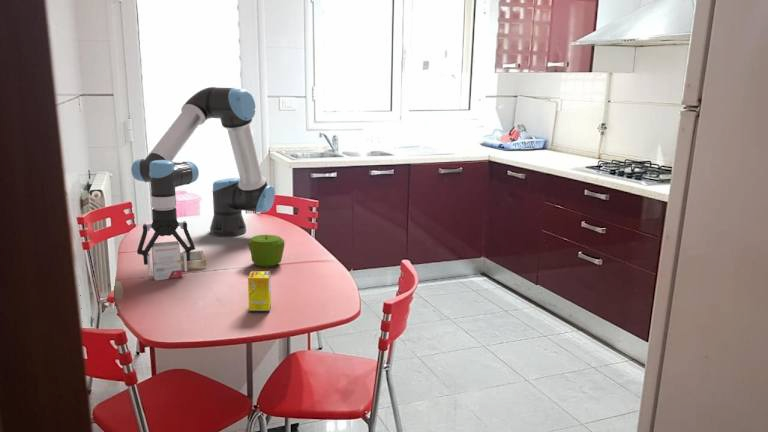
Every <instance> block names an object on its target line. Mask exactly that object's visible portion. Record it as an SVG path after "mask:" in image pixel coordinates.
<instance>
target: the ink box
mask: <svg viewBox="0 0 768 432" xmlns="http://www.w3.org/2000/svg"><path fill="white" fill-rule="evenodd" d="M180 246H181V245H180V243H179V242H178V241H177V240H174V241H165V242H164V241H163V242H155V243H154V244H153V246H152V247H151V257H152V258H151V259H152V270H153V272H152V273H153V279H154V281H164V280H172V279H178V278H182V275H183V274H182V271H181V260H180V252H181V249H180V248H181V247H180Z"/></svg>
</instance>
